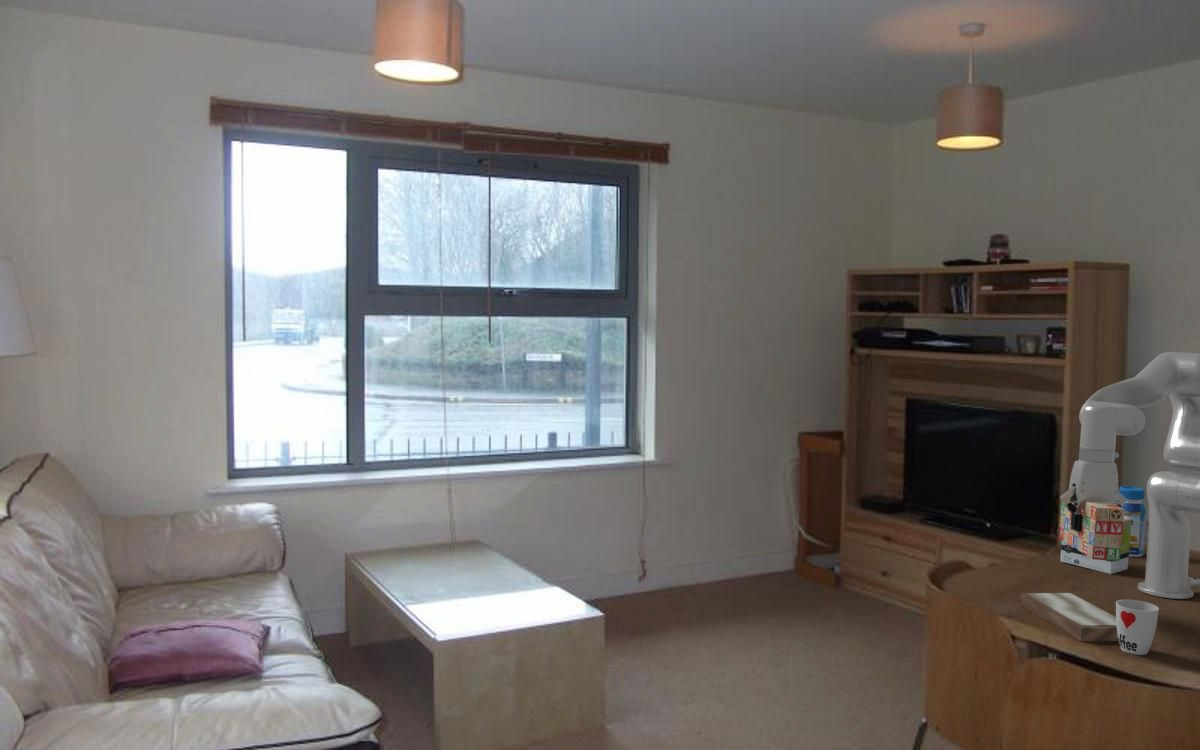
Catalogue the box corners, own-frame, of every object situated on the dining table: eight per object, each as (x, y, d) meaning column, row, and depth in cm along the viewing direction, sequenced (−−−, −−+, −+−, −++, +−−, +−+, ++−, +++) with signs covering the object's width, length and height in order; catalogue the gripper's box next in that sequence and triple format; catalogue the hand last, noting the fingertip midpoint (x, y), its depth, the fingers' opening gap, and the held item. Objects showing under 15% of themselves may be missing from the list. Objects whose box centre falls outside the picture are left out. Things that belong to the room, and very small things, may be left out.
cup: (1105, 644, 219) (1108, 599, 218) (1140, 644, 220) (1143, 599, 219) (1127, 657, 211) (1130, 611, 210) (1164, 657, 212) (1167, 611, 211)
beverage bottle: (1150, 557, 297) (1154, 490, 296) (1126, 558, 295) (1130, 491, 294) (1129, 549, 306) (1133, 485, 304) (1105, 550, 304) (1109, 485, 302)
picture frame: (1071, 604, 248) (1072, 591, 247) (1136, 640, 222) (1137, 626, 222) (1020, 605, 246) (1021, 592, 246) (1080, 641, 221) (1081, 626, 220)
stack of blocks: (1058, 538, 251) (1061, 489, 250) (1084, 540, 250) (1087, 491, 250) (1092, 559, 230) (1096, 506, 229) (1120, 561, 229) (1124, 508, 228)
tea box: (1059, 562, 289) (1061, 512, 287) (1077, 558, 295) (1080, 508, 293) (1111, 575, 277) (1114, 522, 275) (1129, 569, 283) (1132, 518, 281)
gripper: (1122, 455, 242) (1116, 528, 243) (1053, 453, 240) (1047, 526, 242) (1141, 460, 234) (1135, 535, 236) (1070, 457, 233) (1064, 533, 234)
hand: (1091, 530), depth 239 cm, fingers closed on stack of blocks, 6 cm apart
